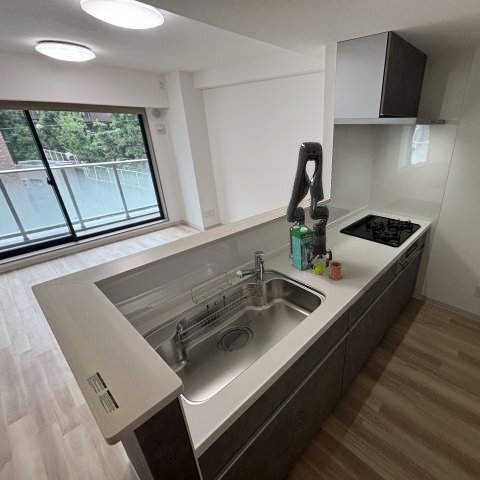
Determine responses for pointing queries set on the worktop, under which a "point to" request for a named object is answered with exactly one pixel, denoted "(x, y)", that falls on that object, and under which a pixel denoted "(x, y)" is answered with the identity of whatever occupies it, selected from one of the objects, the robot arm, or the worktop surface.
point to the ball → (319, 268)
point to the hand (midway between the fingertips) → (319, 268)
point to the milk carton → (301, 245)
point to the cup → (335, 270)
